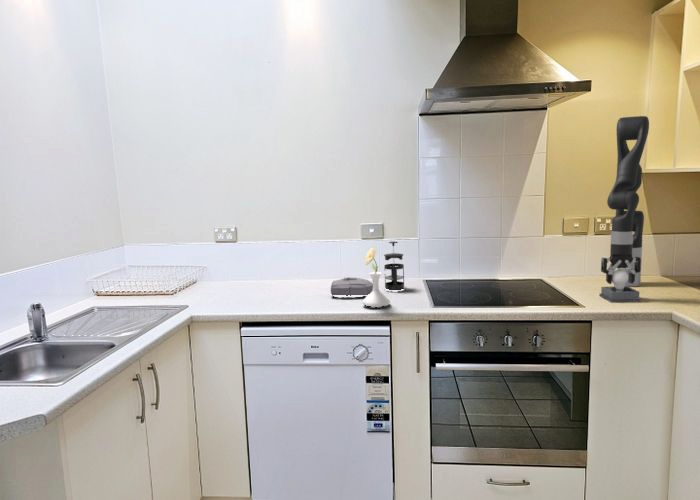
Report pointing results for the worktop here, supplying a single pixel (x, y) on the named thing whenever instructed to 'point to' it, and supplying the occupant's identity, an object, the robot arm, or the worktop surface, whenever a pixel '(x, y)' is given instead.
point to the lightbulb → (619, 279)
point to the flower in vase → (374, 284)
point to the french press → (394, 271)
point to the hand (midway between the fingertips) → (620, 283)
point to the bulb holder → (620, 295)
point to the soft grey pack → (351, 287)
